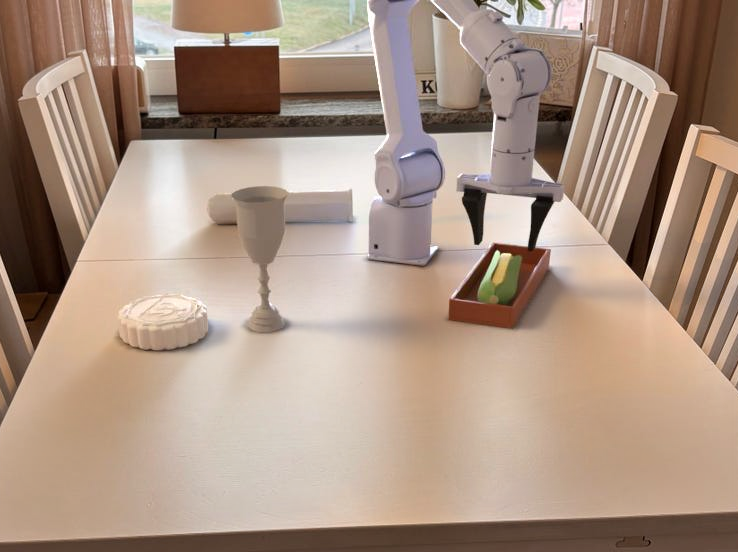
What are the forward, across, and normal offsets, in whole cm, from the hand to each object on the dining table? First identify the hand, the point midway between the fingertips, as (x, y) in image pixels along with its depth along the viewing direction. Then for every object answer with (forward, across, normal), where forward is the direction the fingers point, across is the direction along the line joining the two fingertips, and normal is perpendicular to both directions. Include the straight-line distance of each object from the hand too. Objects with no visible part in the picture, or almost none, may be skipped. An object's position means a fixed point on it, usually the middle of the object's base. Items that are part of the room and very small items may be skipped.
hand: (504, 245), depth 146 cm
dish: (+7, 0, 0) cm, 7 cm away
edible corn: (+7, 0, -1) cm, 7 cm away
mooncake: (+7, -39, -29) cm, 50 cm away
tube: (+7, -43, +19) cm, 48 cm away
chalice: (+7, -27, -22) cm, 36 cm away
